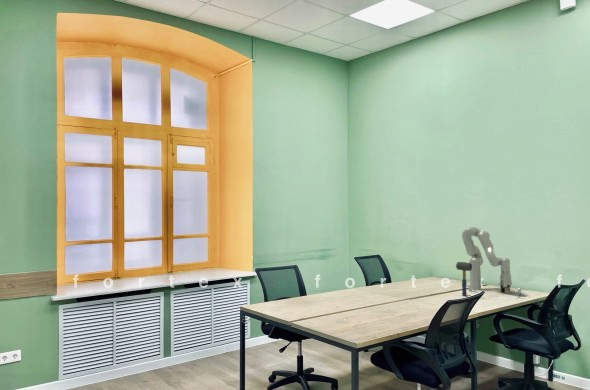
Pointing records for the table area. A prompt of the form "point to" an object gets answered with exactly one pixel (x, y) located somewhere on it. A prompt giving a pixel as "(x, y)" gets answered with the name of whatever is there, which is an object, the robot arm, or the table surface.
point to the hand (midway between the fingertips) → (505, 291)
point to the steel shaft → (519, 291)
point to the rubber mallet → (464, 274)
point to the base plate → (514, 294)
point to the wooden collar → (506, 289)
